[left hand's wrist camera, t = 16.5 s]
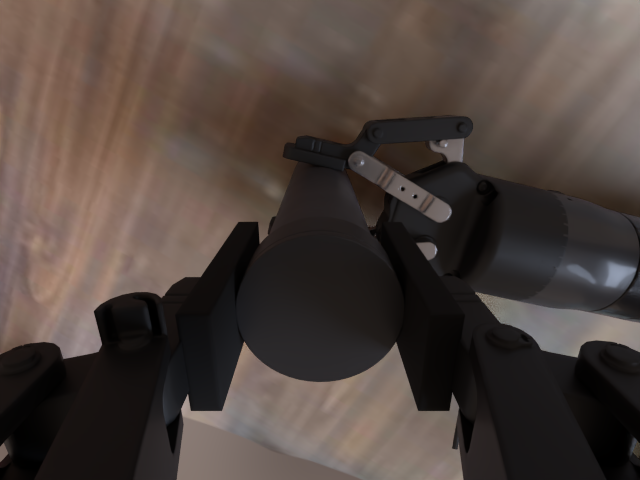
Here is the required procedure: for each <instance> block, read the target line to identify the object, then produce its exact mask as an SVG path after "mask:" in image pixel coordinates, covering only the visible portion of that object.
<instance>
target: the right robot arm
mask: <svg viewBox="0 0 640 480" xmlns="http://www.w3.org/2000/svg"><path fill="white" fill-rule="evenodd" d="M472 129H473V123H472V121H471V119H470V118H468V117H464V116H452V115H446V116H431V117H416V118H401V119H386V120H371V121H368V122H367V123H366V124H365V125H364V127H363V130H362V131H361V133H360V134H359V136H358V137H357V139H356V140H355V141H354V142H352V143H351V144H340V143H336V142H332V141H328V140H324V139H319V138H315V137H311V136H307V135H306V136H299V137H297V139H296V144H294V143H286V144H285V147H284V152H283V157H284V158H287V159H291V160H295V161H299V162H304V163H308V164H312V165H317V166H321V167H325V168H330V169H334V170H338V171H342V172H344V168H347V169H351V170H353V171H354V172H356V173H358V174H359V175H361V176H363V177H364V178H366V179H368V180H370V181H371V182H373V183H375V184H376V185H378V186H379V187H380V188H382V189H383V190H385V191H386V194H385V198H384V211H383V212H382V214H381V215H380V217H379V219H378V221H377V224H376V226H374V227H368V229H369V231H370V234H371V235H372V236H373V237H374V238H375V239H377V241H378V242H379V243H380V244H381V231H382V222H402V223H403V225H404V226H405V228H406V229H407V231H408V232H409V233H410V235H411V236H412V238H413V239H414V241H415V242H416V244H417V245H418V247H419V248H420V250H421V251H422V252H423V254H424V255H425V257H426V258H427V260H428V261H429V263H430V264H431V266H432V267H433V268H434V270H435V271H436V273H437V274H438V276H456V277H457V278H459V279H461V280H462V281H464V282H466V283H467V284H469V286H470V287H471V288H472V289H473V291H474V292H478V293H483V294H488V295H492V296H497V297H502V298H506V299H511V300H516V301H521V302H526V303H530V304H535V305H540V306H544V307H550V308H558V309H573V310H581V311H585V312H590V313H595V314H599V315H604V316H609V317H613V318H619V319H623V320H627V321H633V322H638V323H640V217H638V216H634V215H629V214H625V213H621V212H617V211H613V210H609V209H606V208H604V207H601V206H599V205H597V204H594V203H592V202H589V201H586V200H583V199H580V198H576V197H571V196H567V195H565V194H563V193H561V192H558V191H552V190H547V191H546V190H543V189H538V188H534V187H530V186H526V185H522V184H517V183H513V182H509V181H505V180H501V179H497V178H493V177H488V176H484V175H480V174H477V173H475V172H474V171H473V170H472V169H471V168H470V167H469V166H468V165H466V164H465V163H463V150H464V138H466V137H467V136H469V135H470V133H471V132H472ZM419 141H425V144H426V147H427V148H428V149H429V150H432V151H434V152H438V153H440V154H441V155H442V157H443V161H440V162H438V163H435V164H433V165H431V166H428V167H426V168H423V169H421V170H418V171H416V172H413V173H411V174H408V175H404V174H402V173H401V172H399V171H397V170H396V169H394V168H392V167H391V166H389V165H388V164H386V163H384V162H382V161H380V160H379V159H377V158H375V157H374V156H373V155H374V154H375V152H376V151H377V149H378V148H379V146H380V145H381V144H389V143H404V142H419ZM275 218H276V216H274V217H272V219H271V221H270V224H269V229H268V235H269V234H270V231H271V229H272V226H273V223H274V221H275ZM375 235H376V236H375Z"/></svg>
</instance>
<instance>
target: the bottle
mask: <svg viewBox="0 0 640 480" xmlns="http://www.w3.org/2000/svg"><path fill="white" fill-rule="evenodd" d="M308 217H333V218H338V219H342V220H345V221H348V222H351V223H353V224H355V225H357V226H359V227H361V228H363V229H364V230H366V231H367V232H369V233H370V231H369V229H368V226H367V224H366V221H365V219H364V216H363V213H362V211H361V208H360V206H359V203H358V200H357V198H356V195H355V193H354V190H353V188H352V185H351V182H350V180H349V177H348V175H347V172H346V169H345V168H344V172H342V171H338V170H334V169H330V168H325V167H321V166H317V165H312V164H308V163H304V162H299V163H298V164H297V166H296V168H295V170H294V172H293V175H292V177H291V180H290V183H289V185H288V188H287V190H286V193H285V195H284V198H283V200H282V203H281V206H280V208H279V211H278V213H277V216H276V218H275V221H274V223H273V226H272V229H271V231H270V234H271V233H272V232H273V231H275V230H276V229H278V228H280V227H281V226H283V225H285V224H287V223H290V222H292V221H295V220H299V219H303V218H308ZM270 234H269V235H270Z"/></svg>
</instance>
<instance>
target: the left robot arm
mask: <svg viewBox="0 0 640 480" xmlns="http://www.w3.org/2000/svg"><path fill="white" fill-rule="evenodd" d="M259 245H260V243H259V227H258V222H238V224H237V225H236V227H235V228H234V229H233V231H232V232H231V234H230V235H229V237H228V238H227V240H226V241H225V243H224V244H223V245H222V247H221V248H220V250H219V251H218V253H217V254H216V256H215V257H214V259H213V260H212V262H211V263H210V264H209V266H208V267H207V269H206V270H205V272H204V273H203V275H202V276H201V277H185V278H183V279H182V280H180V281H178V282H177V283H175V284H173V285H172V286H171V287H170V289H169V290H168V291H167V292H166V294H165V296H163V297H162V299H161V297H159V296H158V295H157V294H154V293H149V292H135V293H130V294H124V295H121V296H118V297H115V298H112V299H110V300H108V301H106V302H104V303H103V304H101V305H100V306H99V307H98V308H97V309H96V310H95V311H94V314H95V318H96V322H97V326H98V330H99V333H100V337H101V341H102V346H101V348H100V350H99V352H96V353H93V354H88V355H83V356H77V357H72V358H67V359H63V357H62V354H61V351H60V348H59V347H58V346H57V345H55V344H54V343H47V342H41V343H30V344H25V345H24V346H22V345H21V346H18V347H15V348H13V349H12V350H10V351H7V352H5V353H3V354H0V446H1V445H2V444H3V443H4V444H5V447H6V449H7V451H8V455H7V456H6V457H5V458H4V459H3V460H2V461H1V462H0V480H176V479H177V471H178V463H179V455H180V448H181V440H182V432H183V418H182V412H181V408H182V405H183V403H184V401H185V399H186V397H187V394H188V396H189V402H190V408H191V411H222V409H223V406H224V403H225V400H226V396H227V393H228V390H229V387H230V384H231V381H232V378H233V375H234V371H235V368H236V365H237V362H238V359H239V356H240V353H241V349H242V346H243V343H244V340H243V338H242V335H241V333H240V331H239V328H238V324H237V316H236V296H237V291H238V288H239V285H240V282H241V280H242V278H243V276H244V273H245V271H246V269H247V267H248V264H249V262H250V260H251V258H252V256H253V254H254V252H255V250H256V249H257V248H258V246H259ZM381 245H382V247H383V248H384V250H385V251H386V253H387V255H388V257H389V259H390V261H391V264H392V266H393V268H394V270H395V273H396V275H397V277H398V279H399V282H400V284H401V286H402V290H403V293H404V299H405V308H404V319H403V326H402V329H401V332H400V335H399V337H398V339H397V340H396V342H397V346H398V349H399V352H400V355H401V358H402V361H403V364H404V368H405V371H406V374H407V377H408V380H409V383H410V386H411V390H412V393H413V396H414V399H415V402H416V405H417V408H418V411H449V410H450V403H451V397H452V392H453V394H454V397H455V399H456V401H457V403H458V405H459V412H458V418H457V423H456V429H455V434H454V440H453V447H452V448H453V449H457V448H458V443H459V447H460V455H461V463H462V471H463V478H464V480H640V460H639V459H638V458H637V457H636V455H635V454H634V453H633V450H634V447H635V445H636V443H637V441H638V442H639V443H640V352H638V351H635V350H633V349H631V348H629V347H628V346H625V345H622V344H617V343H614V342H606V341H589V342H586V343H585V344H583V345H582V346H581V348H580V351H579V355H578V358H577V357H571V356H566V355H561V354H556V353H551V352H546V351H542V350H541V349H540V347H539V345H538V344H537V342H536V341H535V340H534V339H533V338H532V337H531V336H530V335H528V334H527V333H525V332H524V331H522V330H520V329H518V328H515V327H513V326H510V325H506V324H501V323H500V322H499V321H498V320H497V319H496V317H495V316H494V315H493V314H492V313H491V311H490V310H489V309H488V308H487V306H486V305H485V304H484V303H483V302H482V300H481V299H480V298H479V297H478V295H475V292H474V291H473V289H472V288H471V287H470V286H469V284H467V283H466V282H464V281H462V280H461V279H459V278H457V277H456V276H438V274H437V273H436V271H435V270H434V268H433V267H432V266H431V264H430V263H429V261H428V260H427V258H426V257H425V255H424V254H423V252H422V251H421V250H420V248H419V247H418V245H417V244H416V242H415V241H414V239H413V238H412V236H411V235H410V233H409V232H408V231H407V229H406V228H405V226H404V225H403V223H402V222H382V231H381Z"/></svg>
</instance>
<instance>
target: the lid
mask: <svg viewBox="0 0 640 480" xmlns="http://www.w3.org/2000/svg"><path fill="white" fill-rule="evenodd" d="M404 308H405V299H404V293H403V290H402V286H401V284H400V282H399V279H398V277H397V275H396V273H395V270H394V268H393V266H392V264H391V261H390V259H389V257H388V255H387V253H386V251H385V250H384V248H383V247H382V245H381V244H380V243H379V242H378V241H377V239H375V238H374V237H373V236H372V235H371V234H370V233H369V232H367V231H366V230H364V229H363V228H361V227H359V226H357V225H355V224H353V223H351V222H348V221H345V220H342V219H338V218H333V217H308V218H303V219H299V220H295V221H292V222H290V223H287V224H285V225H283V226H281V227H280V228H278V229H276V230H275V231H273V232H272V233H271V234H270V235H268V236H267V237H266V238H265V239H264V240H263V241H262V242H261V243H260V245H259V246H258V248H257V249H256V250H255V252H254V254H253V256H252V258H251V260H250V262H249V264H248V267H247V269H246V271H245V273H244V276H243V278H242V280H241V282H240V285H239V288H238V291H237V296H236V316H237V324H238V328H239V331H240V333H241V335H242V338H243V340H244V341H245V343H246V345H247V346H248V348H249V349H250V350H251V351H252V352H253V354H254V355H255V356H256V357H257V358H258V359H259V360H261V361H262V362H263V363H264V364H266V365H267V366H268V367H270V368H271V369H273V370H275V371H277V372H279V373H281V374H283V375H286V376H288V377H292V378H295V379H299V380H304V381H313V382H329V381H336V380H341V379H345V378H349V377H352V376H355V375H357V374H360V373H362V372H364V371H366V370H367V369H369V368H371V367H372V366H374V365H375V364H376V363H378V362H379V361H380V360H381V359H382V358H383V357H384V356H385V355H386V354H387V353H388V352H389V351H390V350H391V348H392V347H393V345H394V344H395V342H396V340H397V339H398V337H399V335H400V332H401V329H402V326H403V319H404Z"/></svg>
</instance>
